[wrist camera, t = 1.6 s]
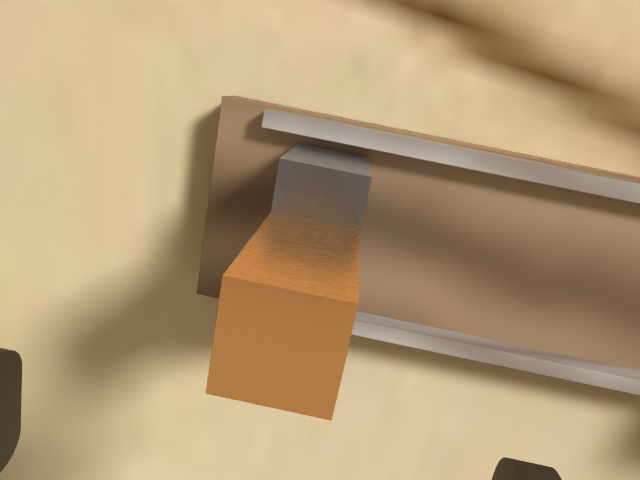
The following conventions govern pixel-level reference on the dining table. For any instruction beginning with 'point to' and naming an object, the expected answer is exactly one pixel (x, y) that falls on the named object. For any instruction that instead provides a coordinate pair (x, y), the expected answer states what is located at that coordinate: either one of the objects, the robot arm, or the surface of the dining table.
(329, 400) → the sliding jaw
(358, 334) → the base
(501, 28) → the dining table surface
